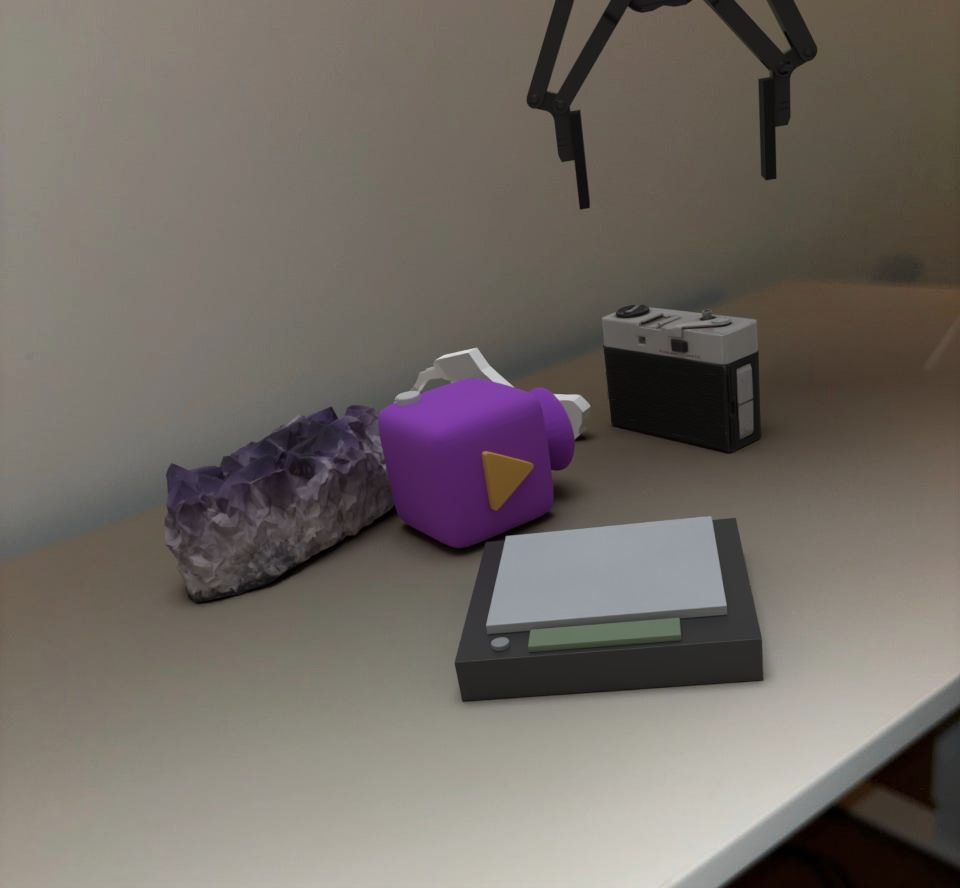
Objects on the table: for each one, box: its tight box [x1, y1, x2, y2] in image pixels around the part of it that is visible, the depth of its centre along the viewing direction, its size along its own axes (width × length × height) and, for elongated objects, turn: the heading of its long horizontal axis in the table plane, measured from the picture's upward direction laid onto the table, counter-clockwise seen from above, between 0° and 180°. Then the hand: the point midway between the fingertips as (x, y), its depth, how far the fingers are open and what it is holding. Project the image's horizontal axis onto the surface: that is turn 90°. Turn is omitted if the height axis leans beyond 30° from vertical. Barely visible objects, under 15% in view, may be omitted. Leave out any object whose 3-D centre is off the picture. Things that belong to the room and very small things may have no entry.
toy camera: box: [378, 378, 576, 549], centre depth 77 cm, size 11×14×10 cm
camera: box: [601, 304, 762, 454], centre depth 86 cm, size 14×9×10 cm, turn 30°
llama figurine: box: [393, 347, 591, 440], centre depth 94 cm, size 2×11×18 cm
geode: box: [164, 404, 395, 603], centre depth 79 cm, size 20×12×10 cm, turn 146°
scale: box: [454, 515, 764, 702], centre depth 62 cm, size 16×15×3 cm
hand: (675, 192), depth 80 cm, fingers open, 13 cm apart
